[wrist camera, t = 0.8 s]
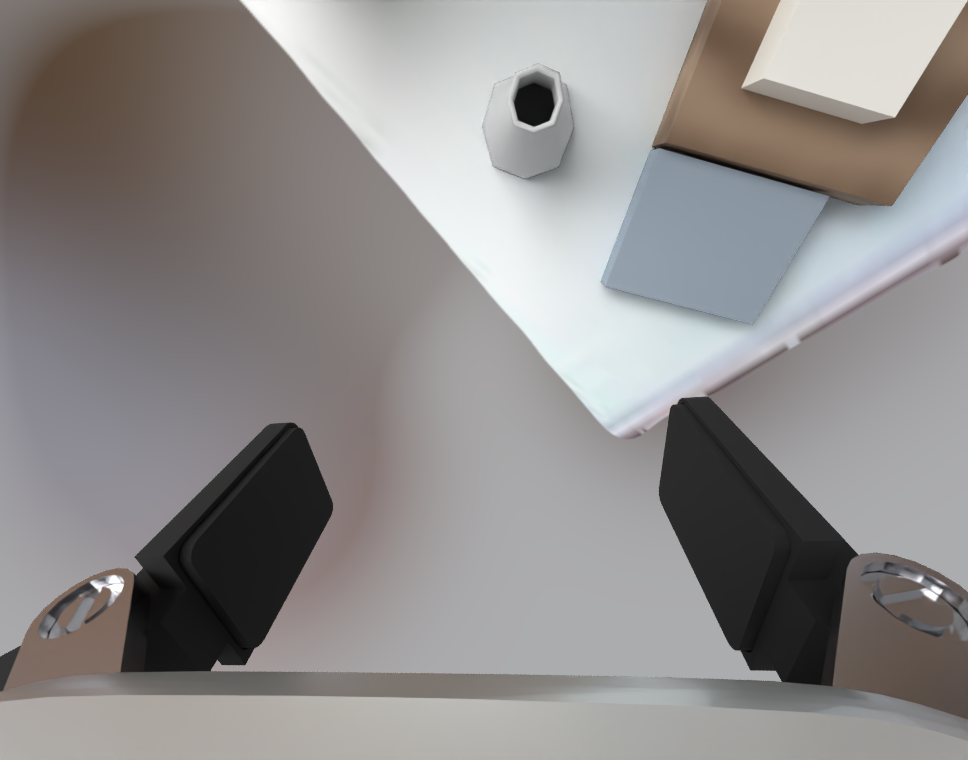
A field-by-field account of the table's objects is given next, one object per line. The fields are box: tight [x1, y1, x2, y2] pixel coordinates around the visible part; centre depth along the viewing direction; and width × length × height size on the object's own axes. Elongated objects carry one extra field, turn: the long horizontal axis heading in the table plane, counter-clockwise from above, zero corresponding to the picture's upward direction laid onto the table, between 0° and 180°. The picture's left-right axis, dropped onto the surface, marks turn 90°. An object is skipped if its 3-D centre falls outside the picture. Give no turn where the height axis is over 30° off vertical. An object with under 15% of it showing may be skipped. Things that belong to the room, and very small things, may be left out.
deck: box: [652, 0, 968, 206], centre depth 26 cm, size 12×18×3 cm, turn 77°
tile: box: [741, 0, 968, 124], centre depth 23 cm, size 6×9×2 cm, turn 76°
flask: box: [482, 64, 574, 179], centre depth 25 cm, size 7×7×10 cm
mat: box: [601, 148, 830, 325], centre depth 32 cm, size 11×14×2 cm
